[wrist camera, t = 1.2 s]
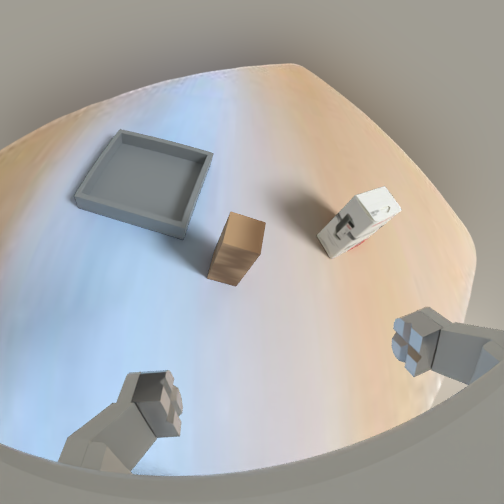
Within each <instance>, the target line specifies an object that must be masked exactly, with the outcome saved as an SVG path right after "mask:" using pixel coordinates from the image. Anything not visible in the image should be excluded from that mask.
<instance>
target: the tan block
mask: <svg viewBox="0 0 504 504" xmlns="http://www.w3.org/2000/svg"><path fill="white" fill-rule="evenodd" d="M265 224H266V223H265V222H262V221H259V220H256V219H253V218H250V217H246V216H243V215H240V214H237V213H234V212H230V214H229V217H228V219H227V221H226V224H225V226H224V229H223V231H222V233H221V236H220V238H219V241H218V243H217V245H216V248H215V250H214V253H213V257H212V261H211V265H210V269H209V273H208V277H207V279H211V280H215V281H218V282H222V283H225V284H229V285H232V286H237V285H238V283H239V282H240V281H241V279H242V278H243V277H244V275H245V274H246V273H247V271H248V270H249V269H250V267H251V266H252V265H253V263H254V262H255V261H256V259H257V258H258V257H259V255H260V254H261V248H262V242H263V236H264V230H265Z"/></svg>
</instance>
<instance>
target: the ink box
mask: <svg viewBox="0 0 504 504" xmlns="http://www.w3.org/2000/svg"><path fill="white" fill-rule="evenodd" d="M401 210H402V209H401V208H400V206H399V205H398V203H397V202H396V200H395V199H394V197H393V196H392V195H391V193H390V192H389V191H388V189H387V188H386V187H385V186H383V187H380V188H377V189H374V190H370V191H367V192H364V193H361V194H357V195H355V196H354V197H353V198H352V199H351V200H350V201H349V202H348V203H347V204H346V205H345V206H344V208H343V209H342V210H341V211H340V212H339V213H338V214H337V215H336V216H335V217H334V218H333V219H332V220H331V221H330V222H329V223H328V224H327V225H326V226H325V227H324V228H323V229H322V230H321V231H320V232H319V233H318V234H317V237H318V239H319V241H320V242H321V244H322V245H323V247H324V249H325V250H326V252H327V254H328V255H329V257H330V258H331V259H333V258H335V257H337V256H339V255H341V254H342V253H344V252H346V251H348V250H350V249H352V248H354V247H356V246H358V245H360V244H361V243H362V242H364V241H365V240H366V239H367V238H369V237H370V236H371V235H372V234H373V233H375V232H376V231H377V230H378V229H380V228H381V227H382V226H383V225H384V224H385V223H387V222H388V221H389V220H390V219H391V218H393V217H394V216H395V215H396V214H397V213H398V212H400V211H401Z"/></svg>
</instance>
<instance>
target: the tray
mask: <svg viewBox="0 0 504 504" xmlns="http://www.w3.org/2000/svg"><path fill="white" fill-rule="evenodd" d="M213 154H214V153H211V152H208V151H204V150H201V149H197V148H194V147H190V146H186V145H183V144H179V143H175V142H172V141H168V140H164V139H160V138H156V137H152V136H147V135H143V134H139V133H134V132H130V131H125V130H121V129H120V130H119V131H118V132H117V134H116V135H115V136H114V137H113V139H112V140H111V141H110V143H109V144H108V145H107V147H106V148H105V150H104V151H103V152H102V154H101V155H100V157H99V158H98V160H97V161H96V162H95V164H94V165H93V167H92V168H91V170H90V171H89V173H88V174H87V176H86V177H85V179H84V181H83V182H82V184H81V185H80V187H79V189H78V190H77V192H76V194H75V195H74V197H75V200H76V203H77V206H78V208H80V209H83V210H86V211H90V212H93V213H96V214H99V215H103V216H106V217H109V218H112V219H116V220H119V221H122V222H126V223H129V224H132V225H136V226H139V227H142V228H146V229H149V230H152V231H156V232H159V233H162V234H166V235H169V236H172V237H176V238H179V239H182V240H184V237H185V234H186V231H187V228H188V225H189V222H190V219H191V216H192V213H193V211H194V208H195V205H196V202H197V199H198V197H199V194H200V191H201V188H202V186H203V183H204V180H205V178H206V175H207V173H208V170H209V167H210V164H211V161H212V157H213Z"/></svg>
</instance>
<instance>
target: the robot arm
mask: <svg viewBox="0 0 504 504" xmlns="http://www.w3.org/2000/svg"><path fill="white" fill-rule="evenodd" d="M393 329H394V330H395V331H396V333H395V335H394V337H393V338H392V349H393V353H394V355H395V357H396V358H397V359H398V360H399V361H402V362H405V368H406V369H407V370H408V371H409V372H410V373H411V375H412V376H413V377H415V376H418V375H420V374H422V373H424V372H426V371H428V370H432V371H434V372H437V373H439V374H442V375H444V376H447V377H449V378H452V379H455V380H457V381H460V382H462V383H465V384H467V385H468V386H467V387H465V388H464V389H462V390H461V391H459V392H458V393H456V394H455V395H453V396H451V397H450V398H448V399H447V400H445V401H443V402H442V403H440V404H438V405H436V406H435V407H433V408H431V409H429V410H428V411H426V412H424V413H422V414H420V415H418V416H416V417H414V418H413V419H411V420H409V421H407V422H405V423H402V424H400V425H398V426H396V427H394V428H392V429H390V430H387V431H385V432H383V433H380V434H378V435H376V436H373V437H371V438H368V439H366V440H363V441H360V442H358V443H355V444H352V445H350V446H347V447H344V448H341V449H338V450H335V451H331V452H328V453H325V454H322V455H318V456H315V457H311V458H307V459H303V460H299V461H295V462H291V463H286V464H282V465H277V466H272V467H266V468H261V469H255V470H248V471H241V472H233V473H224V474H212V475H196V476H150V475H134V474H132V473H131V470H132V469H133V468H134V467H135V465H136V464H137V463H138V462H139V461H140V459H141V458H142V457H143V456H144V454H145V453H146V452H147V451H148V449H149V448H150V447H151V446H152V444H153V443H154V442H155V441H156V439H157V438H161V437H177V436H180V430H181V421H180V419H179V416H180V415H181V413H182V409H183V405H182V398H181V394H180V392H179V389H178V388H177V387H176V386H174V385H173V382H174V378H173V376H172V374H171V372H170V371H169V370H162V371H148V372H133V373H129V374H127V376H126V378H125V381H124V384H123V386H122V389H121V392H120V394H119V397H118V400H117V402H116V403H112V404H111V405H109V406H108V407H107V408H106V409H104V410H103V411H102V412H100V413H99V414H98V415H97V416H95V417H94V418H93V419H91V420H90V421H89V422H87V423H86V424H85V425H83V426H82V427H81V428H80V429H78V430H77V431H76V432H74V433H73V434H72V435H70V436H69V437H68V438H67V441H66V443H65V445H64V448H63V450H62V453H61V455H60V458H59V460H58V462H55V461H52V460H48V459H44V458H41V457H37V456H34V455H31V454H28V453H25V452H22V451H19V450H16V449H14V448H11V447H8V446H6V445H3V444H1V443H0V504H504V331H503V330H498V329H491V328H485V327H479V326H474V325H468V324H462V323H457V322H455V323H451V322H450V321H449V320H447V319H446V318H444V317H443V316H442V315H440V314H439V313H437V312H436V311H434V310H433V309H431V308H430V307H424V308H422V309H419V310H417V311H416V312H413V313H411V314H408V315H405V316H402V317H400V318H397V319H396V320H395V322H394V328H393Z"/></svg>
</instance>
